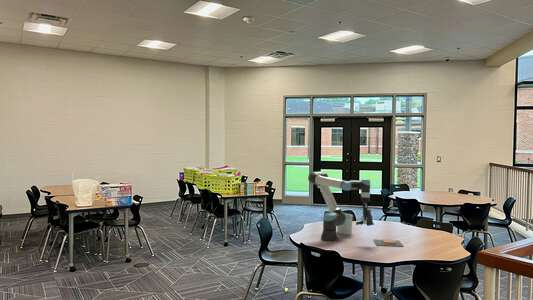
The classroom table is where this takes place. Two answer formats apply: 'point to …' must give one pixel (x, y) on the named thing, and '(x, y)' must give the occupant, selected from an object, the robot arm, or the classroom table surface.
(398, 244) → the mat
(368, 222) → the gun
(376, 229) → the classroom table surface
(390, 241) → the tile
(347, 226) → the utensil holder
